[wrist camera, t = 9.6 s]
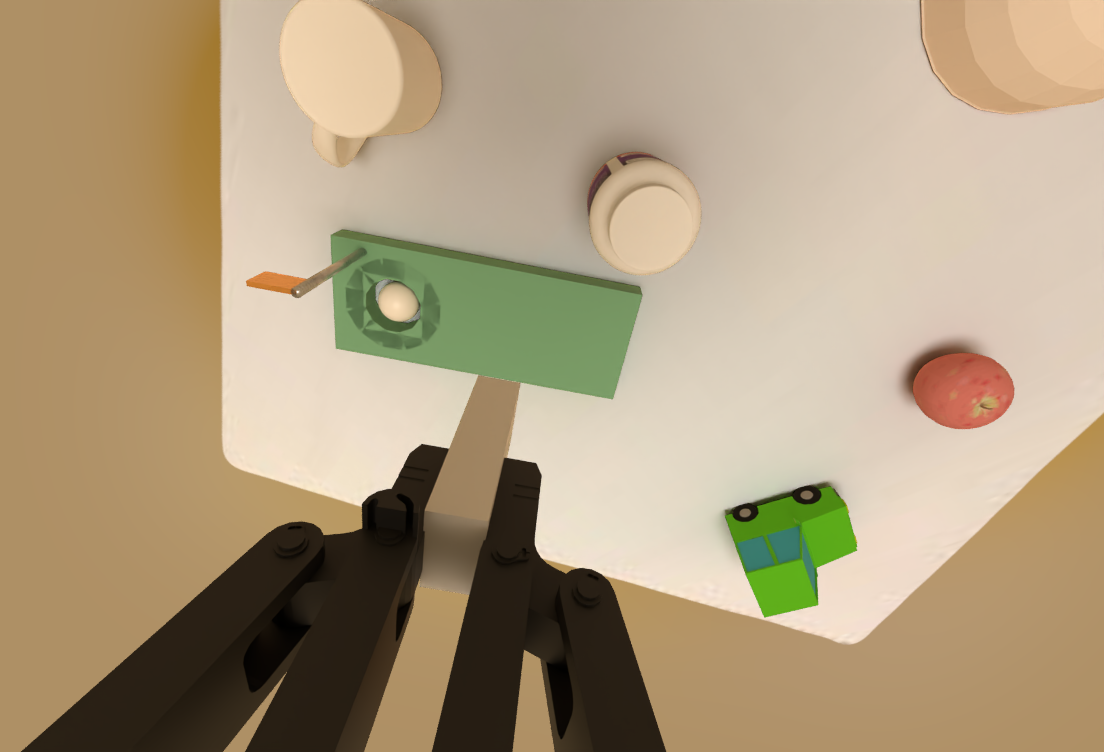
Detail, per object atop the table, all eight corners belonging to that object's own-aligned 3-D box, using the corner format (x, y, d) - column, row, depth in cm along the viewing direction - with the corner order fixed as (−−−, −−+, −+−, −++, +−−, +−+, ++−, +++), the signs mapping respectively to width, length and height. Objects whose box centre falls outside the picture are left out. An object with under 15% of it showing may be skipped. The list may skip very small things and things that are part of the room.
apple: (894, 354, 50) (945, 393, 43) (972, 330, 48) (1039, 366, 41) (900, 409, 53) (948, 454, 46) (974, 389, 51) (1036, 432, 44)
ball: (408, 280, 50) (371, 278, 48) (428, 284, 48) (390, 282, 45) (407, 318, 51) (370, 318, 48) (426, 324, 48) (388, 324, 46)
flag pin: (324, 240, 45) (245, 278, 34) (366, 248, 45) (301, 288, 35) (325, 248, 45) (247, 288, 35) (366, 256, 45) (302, 298, 35)
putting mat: (342, 229, 47) (330, 235, 45) (639, 286, 48) (642, 295, 46) (346, 338, 53) (335, 348, 50) (611, 387, 54) (612, 399, 52)
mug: (425, 56, 31) (343, 206, 36) (461, 69, 40) (391, 188, 45) (309, -46, 29) (238, 129, 34) (374, -8, 38) (311, 126, 43)
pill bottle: (614, 258, 47) (626, 311, 34) (570, 185, 44) (565, 213, 31) (690, 211, 44) (733, 249, 32) (649, 130, 41) (678, 137, 29)
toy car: (843, 527, 62) (886, 595, 53) (741, 554, 65) (766, 622, 57) (827, 471, 58) (871, 534, 49) (719, 503, 61) (743, 568, 52)
